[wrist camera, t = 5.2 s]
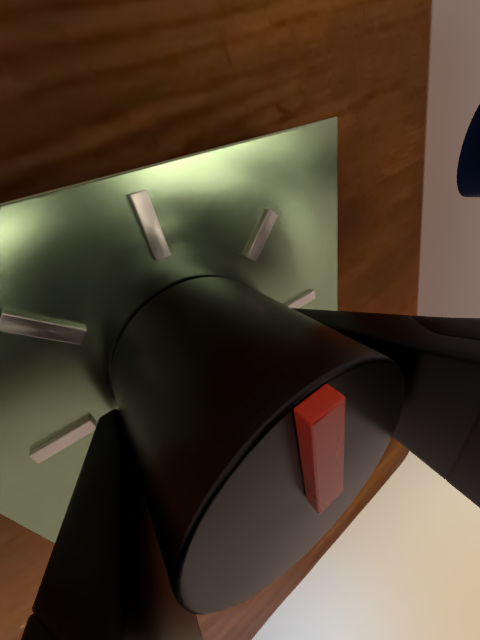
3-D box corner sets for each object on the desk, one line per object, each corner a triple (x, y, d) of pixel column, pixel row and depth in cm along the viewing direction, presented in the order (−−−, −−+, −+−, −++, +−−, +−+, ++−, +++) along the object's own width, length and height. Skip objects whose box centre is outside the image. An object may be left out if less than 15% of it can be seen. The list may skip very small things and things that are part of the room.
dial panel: (270, 132, 9) (343, 114, 7) (295, 342, 15) (340, 371, 13) (-199, 253, 5) (-413, 308, 3) (79, 483, 11) (86, 567, 8)
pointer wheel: (277, 372, 10) (402, 475, 6) (156, 455, 8) (236, 660, 5) (254, 247, 7) (451, 306, 4) (66, 331, 6) (91, 603, 2)
